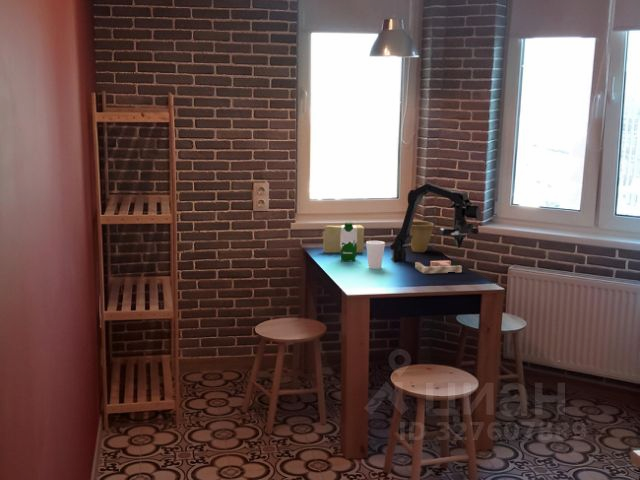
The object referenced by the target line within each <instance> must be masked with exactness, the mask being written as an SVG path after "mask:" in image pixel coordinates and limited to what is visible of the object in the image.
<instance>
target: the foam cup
mask: <svg viewBox="0 0 640 480" xmlns="http://www.w3.org/2000/svg"><path fill="white" fill-rule="evenodd" d="M385 246H386V242H385V241H381V240H367V241H366V242H365V248H366V255H367V264H368V268H369V269H372V270H373V269H374V270H376V269H377V270H378V269H381V268H382V264H383V259H384V251H385Z"/></svg>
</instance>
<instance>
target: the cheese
mask: <svg viewBox="0 0 640 480" xmlns="http://www.w3.org/2000/svg"><path fill="white" fill-rule="evenodd" d="M353 226H356V227H357V251H356V254H358V253H359V254H363V253H364V247H365V246H364V245H365V244H364V243H365V227H364V226H363V225H362V224H353ZM341 227H342V225H326V226H324V231H323V232H324V234H323V239H322V240H323V242H322V243H323V244H322V245H323V248H322V249H323V253H330V254H331V253H333V254H336V253H340V235H341ZM340 254H341V253H340Z"/></svg>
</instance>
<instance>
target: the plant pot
mask: <svg viewBox="0 0 640 480" xmlns="http://www.w3.org/2000/svg"><path fill="white" fill-rule="evenodd" d="M433 227H434V223H432V222H429V221H425V220H424V221H422V220H418V221H417V220H416V221H415V220H413V223H412V226H411V229H410V235H412V236H413V237H412V239H411V243H410V244H409V245H410V247H411V251H412V252H413V253H414V252H415V253H425V252H426V251H427V249H428V246H429V243H430V240H431V237H432V232H433Z"/></svg>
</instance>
